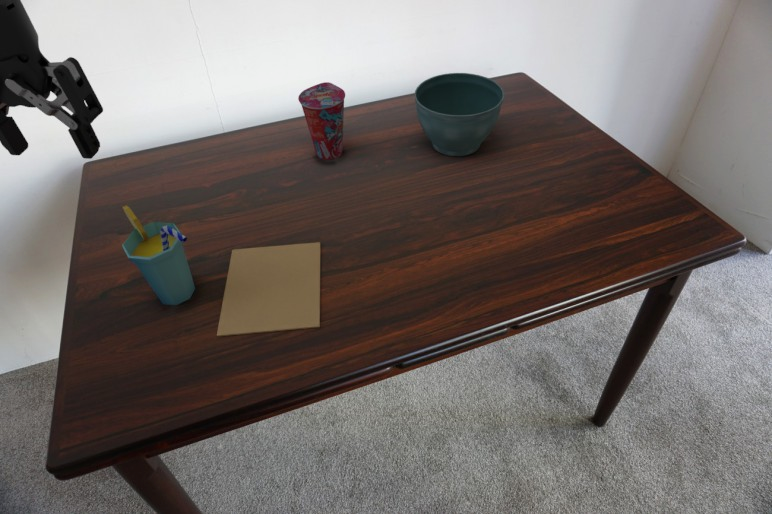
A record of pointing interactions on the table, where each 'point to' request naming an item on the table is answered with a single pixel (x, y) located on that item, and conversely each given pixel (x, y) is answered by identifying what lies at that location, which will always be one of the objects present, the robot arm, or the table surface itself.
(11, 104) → the robot arm
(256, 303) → the cork mat
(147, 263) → the cup
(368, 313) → the table surface
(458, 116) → the flower pot
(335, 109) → the cup
